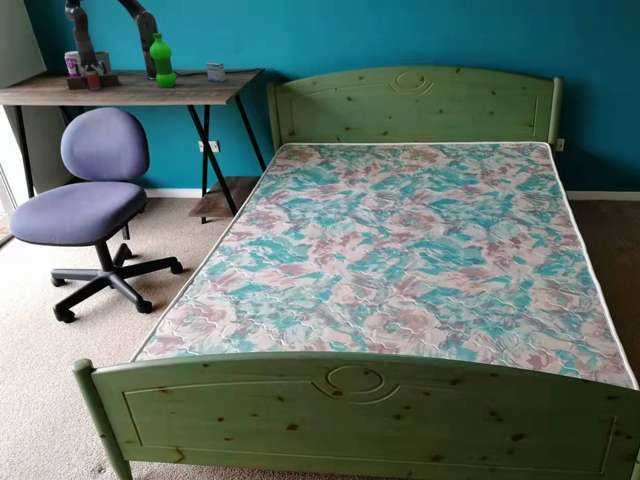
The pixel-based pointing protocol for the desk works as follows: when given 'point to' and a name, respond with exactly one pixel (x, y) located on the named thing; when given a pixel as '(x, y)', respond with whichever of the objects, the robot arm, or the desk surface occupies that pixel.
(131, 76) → the desk surface
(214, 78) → the medicine box
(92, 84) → the tin can
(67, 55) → the supplement can
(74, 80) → the wooden wall
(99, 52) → the grey cup
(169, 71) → the plastic bottle
